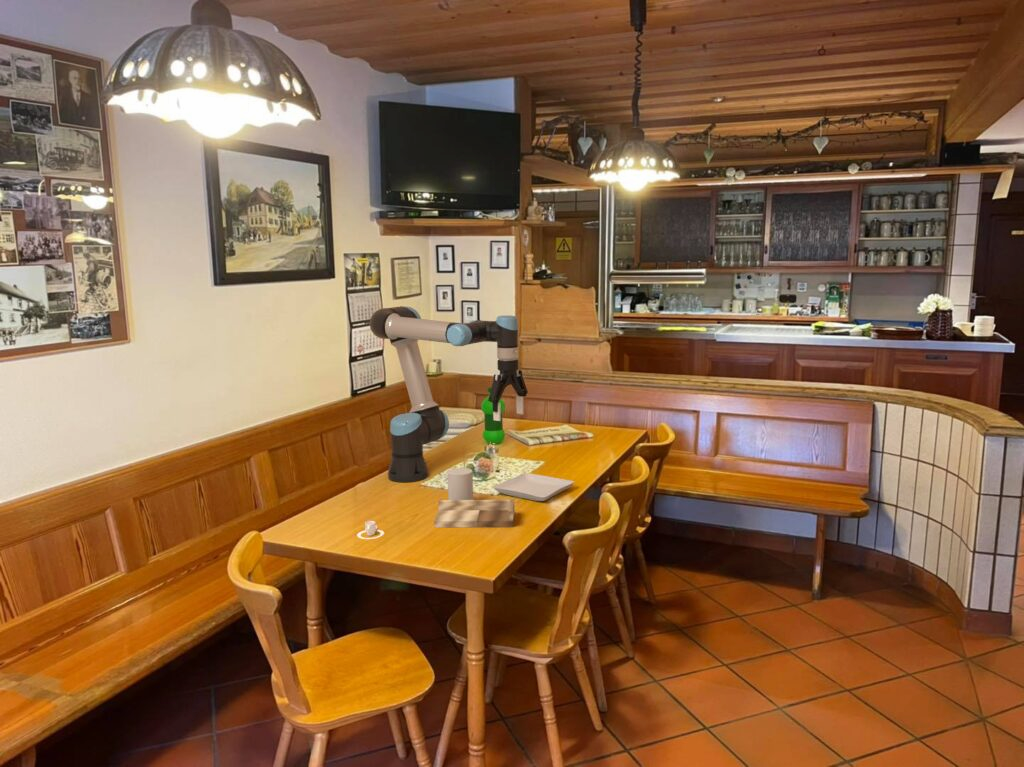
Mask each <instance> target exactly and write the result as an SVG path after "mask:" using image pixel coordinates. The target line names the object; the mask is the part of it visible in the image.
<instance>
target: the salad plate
mask: <svg viewBox="0 0 1024 767" xmlns="http://www.w3.org/2000/svg"><path fill="white" fill-rule="evenodd" d="M574 484H575V481H574V480H568V479H563V478H557V477H553V476H547V475H542V474H536V473H535V474H534V473H531V472H530V473H529V472H526V473H521V474H520V475H516V476H515V477H512V478H510V479H507V480H505V481H503V482H501V483H499V484H496V485H494V486H493V489H494V490H495V491H497V492H498V493H501V494H503V495H507V496H510V497H514V498H520V499H525V500H528V501H530V500H531V501H535V502H544V501H546V500H548V499H550V498H552V497H554V496H557V494H560V493H561V492H564V491H566V490H567V489H569V488H571V487H572V486H573V485H574Z"/></svg>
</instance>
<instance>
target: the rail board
mask: <svg viewBox="0 0 1024 767" xmlns="http://www.w3.org/2000/svg"><path fill="white" fill-rule="evenodd" d="M437 503H438V511H437V514H436V516H435V517H434V521H433V525H434V526H433V527H434V528H437V529H438V528H514V522H515V513H516V512H515V511H516V510H515V499H473V500H449V499H447V500H446V499H441V500H440V499H439V500H438V502H437Z"/></svg>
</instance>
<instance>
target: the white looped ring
mask: <svg viewBox="0 0 1024 767" xmlns="http://www.w3.org/2000/svg"><path fill="white" fill-rule="evenodd" d="M364 529H365V530H362V531H360V532H358V533H357V534H356V537H357V538H358V539H362V540H374V539H378V538H381V537H383V536H384V535H385V532H384V531H383V530H381V529H378V525H377V523H376V521H374V520H367V521H365V523H364ZM376 532H379V533H380V534H379V535H377V536H375V534H376ZM364 533H366V535H367V536H368V537H363V536H362V534H364ZM369 536H374V537H369Z"/></svg>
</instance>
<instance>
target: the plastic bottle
mask: <svg viewBox="0 0 1024 767" xmlns="http://www.w3.org/2000/svg"><path fill="white" fill-rule="evenodd" d="M491 388H492V386H489V387H487V392H488V396H487V397H485V399H483V400H482V402H481V405H480V408H481V409H480V410H481V412H483V415H484V418H483V419H484V430H483V431H482V437H483V438H482V439H484V441H485V442H487V443H490V442H491V443H495V445H499V444H501V442H502V441H503V440H504V439H505V437H506V432H505V430H504V428H503V427H504V426H503V424H504V423H503V413H504V412H505V410H506V404H505V401H504V400H503V399H502V398H500V400H499V403H500V405H501V421H495V420H494V418H493V403H492V402H490V401H488V399H489V395H490V391H491Z"/></svg>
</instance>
